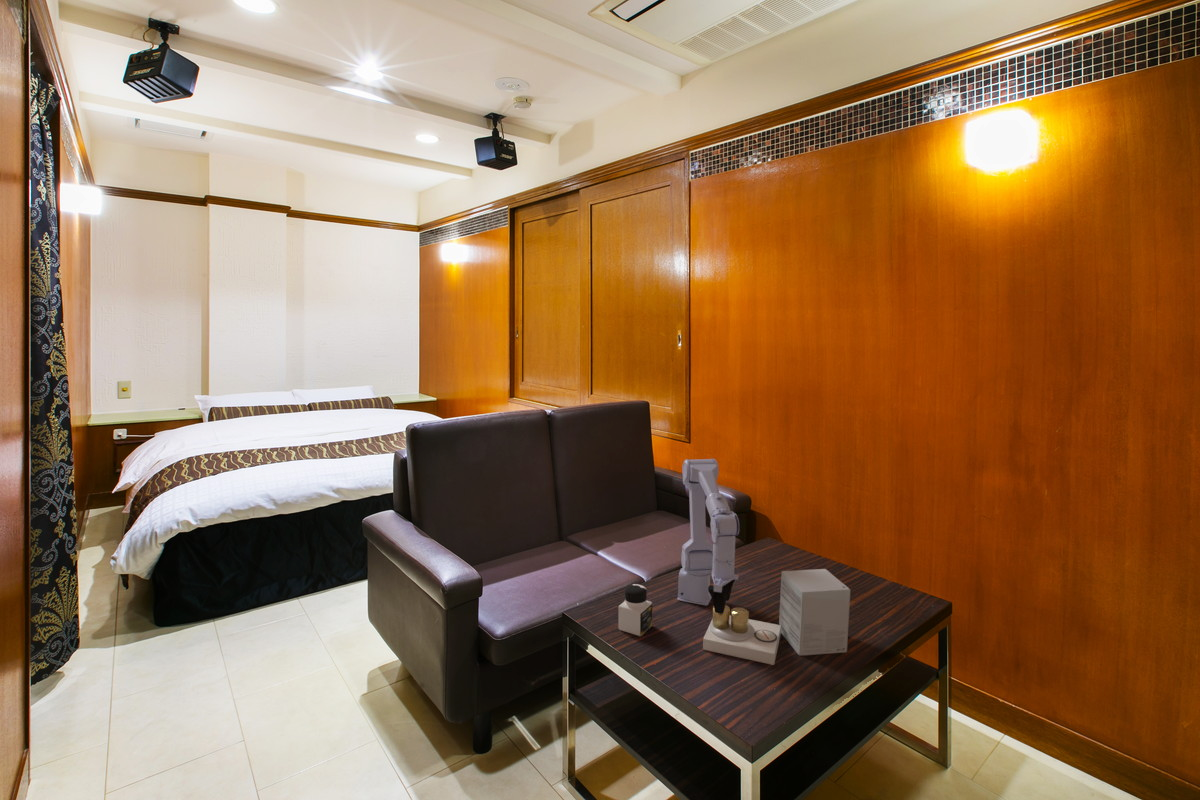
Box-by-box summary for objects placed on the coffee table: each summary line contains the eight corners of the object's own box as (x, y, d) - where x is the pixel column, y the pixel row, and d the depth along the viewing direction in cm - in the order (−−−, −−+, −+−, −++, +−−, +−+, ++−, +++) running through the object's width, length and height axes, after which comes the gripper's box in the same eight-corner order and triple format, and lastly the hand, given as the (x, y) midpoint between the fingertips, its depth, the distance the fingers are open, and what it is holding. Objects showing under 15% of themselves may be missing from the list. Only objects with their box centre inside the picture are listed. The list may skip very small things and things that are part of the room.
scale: (702, 649, 153) (703, 636, 153) (714, 622, 167) (715, 610, 166) (774, 665, 146) (774, 651, 146) (780, 635, 160) (780, 623, 160)
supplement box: (822, 627, 165) (825, 567, 162) (847, 653, 152) (851, 589, 149) (777, 629, 163) (780, 570, 161) (799, 656, 150) (802, 592, 148)
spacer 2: (729, 631, 155) (729, 613, 155) (732, 623, 160) (733, 606, 159) (746, 635, 154) (746, 617, 153) (749, 627, 158) (750, 609, 157)
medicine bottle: (640, 637, 159) (641, 595, 158) (618, 629, 163) (618, 589, 161) (652, 625, 165) (653, 585, 164) (630, 618, 169) (630, 579, 167)
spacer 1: (711, 628, 157) (712, 610, 156) (713, 620, 161) (713, 603, 160) (729, 630, 156) (729, 613, 155) (729, 622, 160) (730, 605, 159)
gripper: (733, 571, 148) (732, 621, 150) (743, 550, 161) (741, 597, 163) (706, 566, 150) (704, 616, 152) (717, 546, 164) (716, 592, 165)
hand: (722, 606), depth 158 cm, fingers open, 7 cm apart
